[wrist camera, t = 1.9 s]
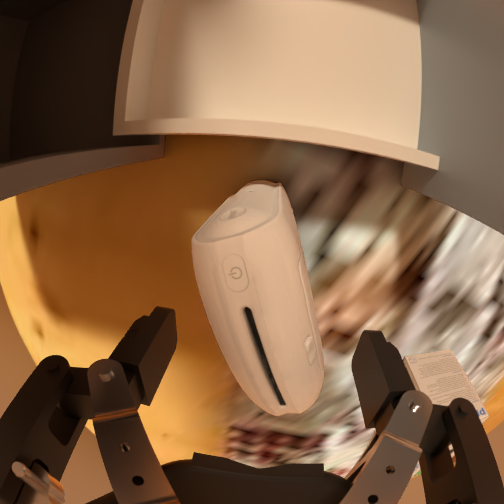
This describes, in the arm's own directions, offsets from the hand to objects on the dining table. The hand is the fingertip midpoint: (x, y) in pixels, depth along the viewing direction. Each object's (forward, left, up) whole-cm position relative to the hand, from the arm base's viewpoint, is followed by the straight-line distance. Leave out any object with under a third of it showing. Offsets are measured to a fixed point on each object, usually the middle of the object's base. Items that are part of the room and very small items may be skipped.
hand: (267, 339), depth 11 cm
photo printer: (0, 0, -11) cm, 11 cm away
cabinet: (-15, -18, -10) cm, 26 cm away
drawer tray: (-15, 0, -10) cm, 18 cm away
